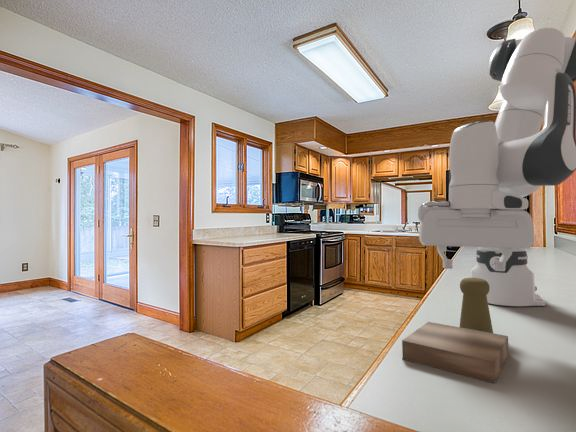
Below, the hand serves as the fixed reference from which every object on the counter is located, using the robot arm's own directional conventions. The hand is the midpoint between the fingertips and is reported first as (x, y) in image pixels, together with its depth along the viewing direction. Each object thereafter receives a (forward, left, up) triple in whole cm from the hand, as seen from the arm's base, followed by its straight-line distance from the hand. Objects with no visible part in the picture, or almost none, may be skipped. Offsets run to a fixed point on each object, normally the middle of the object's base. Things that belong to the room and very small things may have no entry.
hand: (473, 269), depth 65 cm
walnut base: (+14, 0, -13) cm, 19 cm away
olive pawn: (0, 0, -13) cm, 13 cm away
